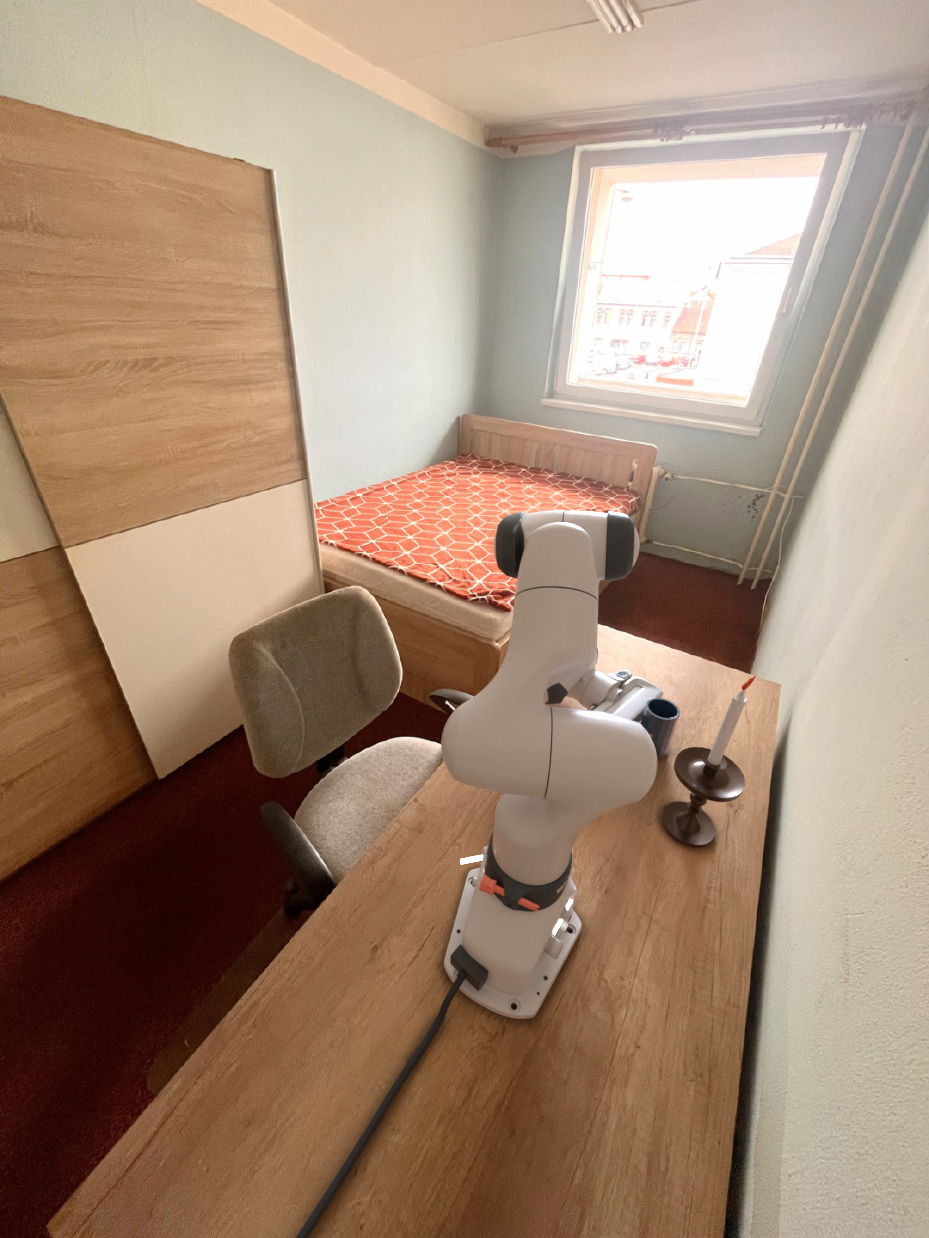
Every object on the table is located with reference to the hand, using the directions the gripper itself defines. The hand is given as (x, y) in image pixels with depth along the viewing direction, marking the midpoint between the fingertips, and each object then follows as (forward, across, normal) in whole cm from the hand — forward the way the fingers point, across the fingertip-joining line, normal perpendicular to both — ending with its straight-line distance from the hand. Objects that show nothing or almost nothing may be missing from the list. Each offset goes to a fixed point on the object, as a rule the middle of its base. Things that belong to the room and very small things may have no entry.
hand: (661, 728), depth 105 cm
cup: (-1, 0, +6) cm, 6 cm away
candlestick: (+13, -13, +6) cm, 20 cm away
